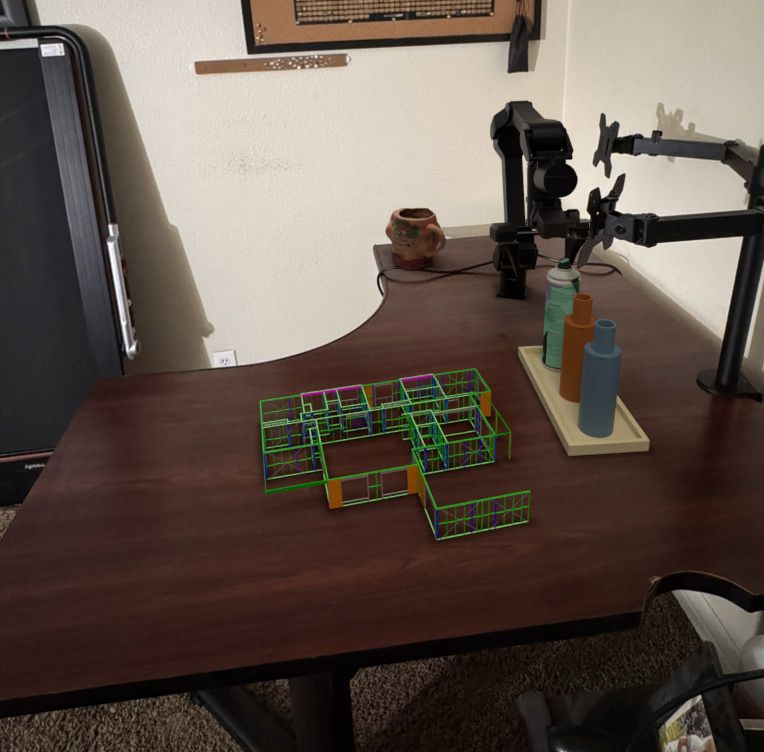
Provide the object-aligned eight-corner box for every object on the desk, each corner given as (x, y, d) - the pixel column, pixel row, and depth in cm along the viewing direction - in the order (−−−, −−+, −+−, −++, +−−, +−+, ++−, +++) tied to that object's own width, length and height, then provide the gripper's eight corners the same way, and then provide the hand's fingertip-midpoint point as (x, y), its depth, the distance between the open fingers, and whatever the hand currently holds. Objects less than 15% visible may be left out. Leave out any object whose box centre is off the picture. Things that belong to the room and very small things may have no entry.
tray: (517, 355, 116) (518, 346, 115) (579, 351, 116) (580, 343, 116) (568, 456, 89) (569, 445, 89) (648, 451, 90) (650, 440, 89)
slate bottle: (577, 418, 97) (586, 314, 91) (612, 423, 96) (623, 317, 90) (577, 438, 93) (586, 329, 87) (613, 443, 91) (625, 333, 85)
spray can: (577, 361, 112) (586, 256, 105) (568, 375, 108) (576, 267, 101) (547, 354, 115) (554, 251, 108) (537, 367, 110) (543, 262, 103)
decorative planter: (463, 267, 157) (464, 214, 152) (431, 282, 149) (430, 226, 144) (405, 250, 170) (404, 200, 166) (373, 262, 163) (370, 211, 158)
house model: (473, 390, 106) (473, 365, 104) (554, 516, 79) (556, 485, 77) (262, 423, 99) (259, 397, 98) (272, 573, 72) (268, 541, 70)
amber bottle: (559, 386, 106) (566, 289, 99) (590, 390, 104) (600, 291, 98) (558, 403, 101) (565, 302, 95) (590, 407, 100) (600, 305, 94)
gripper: (502, 199, 106) (502, 289, 109) (611, 194, 106) (609, 283, 109) (488, 193, 117) (489, 275, 120) (587, 188, 117) (586, 270, 120)
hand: (542, 276), depth 117 cm, fingers open, 9 cm apart
